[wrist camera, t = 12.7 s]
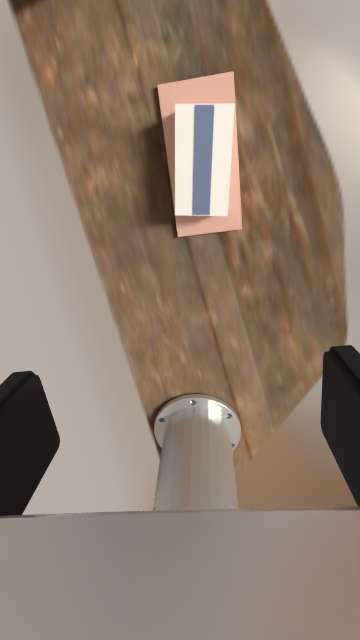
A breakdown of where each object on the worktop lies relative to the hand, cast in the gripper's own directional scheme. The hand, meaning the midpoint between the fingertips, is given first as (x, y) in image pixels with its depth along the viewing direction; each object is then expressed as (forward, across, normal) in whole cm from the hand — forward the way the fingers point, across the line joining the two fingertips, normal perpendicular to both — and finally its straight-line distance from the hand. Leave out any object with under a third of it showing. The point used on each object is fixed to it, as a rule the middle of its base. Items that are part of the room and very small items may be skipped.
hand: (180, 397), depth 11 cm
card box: (+28, -2, -8) cm, 29 cm away
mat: (+28, -2, -8) cm, 29 cm away
